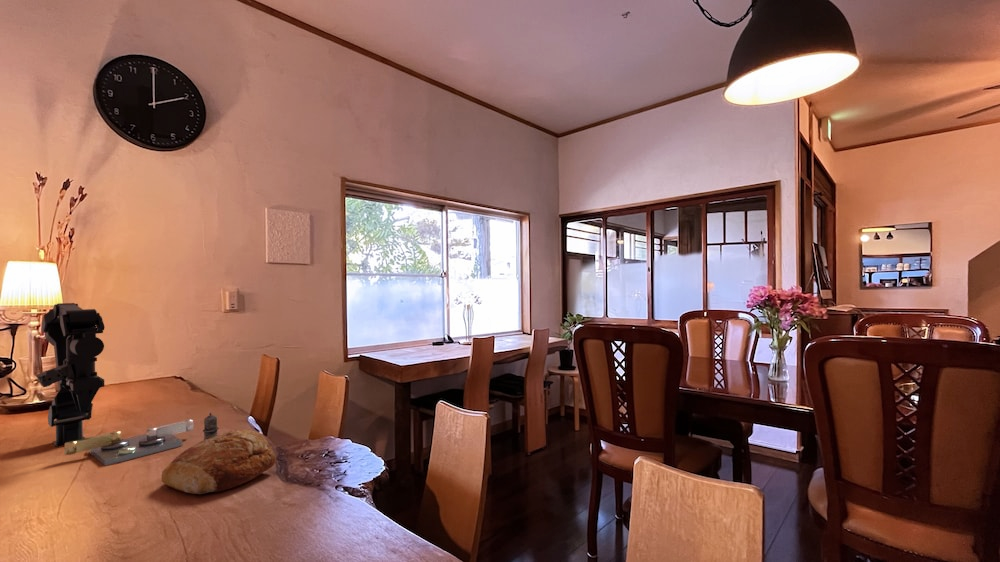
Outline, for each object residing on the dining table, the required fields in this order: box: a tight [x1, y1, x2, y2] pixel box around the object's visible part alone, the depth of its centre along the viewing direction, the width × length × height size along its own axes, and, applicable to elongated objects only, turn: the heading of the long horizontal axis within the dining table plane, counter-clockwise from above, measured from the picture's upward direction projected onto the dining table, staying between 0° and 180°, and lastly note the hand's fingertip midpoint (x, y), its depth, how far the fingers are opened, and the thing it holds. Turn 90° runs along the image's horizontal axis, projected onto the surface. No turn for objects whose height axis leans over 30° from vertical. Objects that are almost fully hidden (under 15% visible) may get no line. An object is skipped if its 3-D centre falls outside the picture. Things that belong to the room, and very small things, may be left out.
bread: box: [160, 428, 277, 495], centre depth 105 cm, size 20×18×10 cm
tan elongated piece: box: [64, 430, 130, 456], centre depth 120 cm, size 13×6×4 cm, turn 144°
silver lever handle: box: [139, 418, 194, 446], centre depth 128 cm, size 13×6×4 cm, turn 144°
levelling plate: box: [89, 433, 184, 467], centre depth 124 cm, size 16×17×2 cm
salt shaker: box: [202, 412, 219, 440], centre depth 118 cm, size 6×6×12 cm
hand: (81, 410), depth 121 cm, fingers open, 4 cm apart
